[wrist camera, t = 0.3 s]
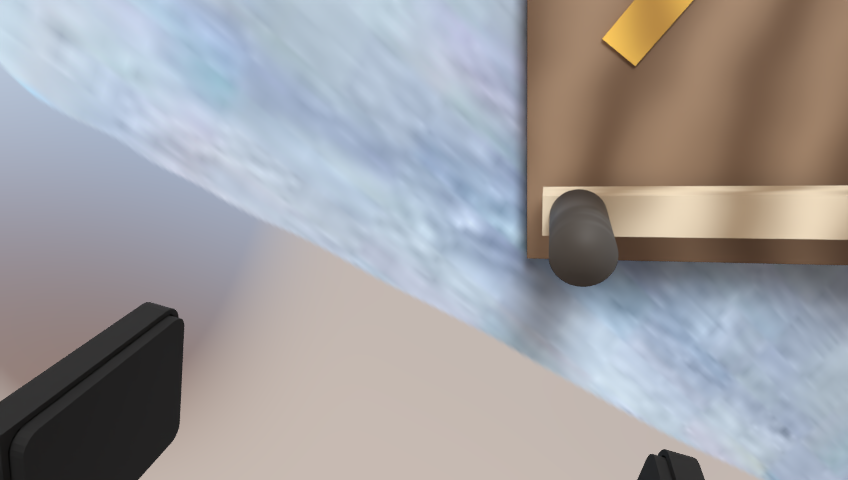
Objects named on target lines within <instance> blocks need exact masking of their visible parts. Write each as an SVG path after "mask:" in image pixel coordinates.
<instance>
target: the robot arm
mask: <svg viewBox="0 0 848 480" xmlns="http://www.w3.org/2000/svg"><path fill="white" fill-rule="evenodd" d="M183 339H184V322H183V320H182V319H180V318H178V313H177V311H176V310H175V309H172V308H168V307H165V306H161V305H158V304H154V303H151V302H146V303H144V304H142V305H141V306H139V307H138V308H136V309H135V310H133V311H132V312H130V313H129V314H127V315H126V316H125V317H123V318H122V319H120V320H119V321H117V322H116V323H114V324H113V325H111V326H110V327H108V328H107V329H106V330H104V331H103V332H101V333H100V334H98V335H97V336H95V337H94V338H92V339H91V340H89V341H88V342H87V343H85V344H84V345H82V346H81V347H79V348H78V349H76V350H75V351H73V352H72V353H71V354H69V355H68V356H66V357H65V358H63V359H62V360H60V361H59V362H57V363H56V364H54V365H53V366H52V367H50V368H49V369H47V370H46V371H44V372H43V373H41V374H40V375H38V376H37V377H35V378H34V379H33V380H31V381H30V382H28V383H27V384H25V385H24V386H22V387H21V388H19V389H18V390H16V391H15V392H14V393H12V394H11V395H9V396H8V397H6V398H5V399H3V400H2V401H1V402H0V480H138V479H139V478H140V477H141V476H142V475H143V474H144V473H145V471H146V470H147V469H148V468H149V467H150V466H151V465H152V464H153V462H154V461H155V460H156V459H157V458H158V457H159V456H160V455H161V454H162V453H163V451H164V450H165V449H166V448H167V447H168V446H169V445H170V444H171V442H172V441H173V440H174V438H175V436H176V434H177V432H178V429H179V424H180V404H181V383H182V382H181V381H182V362H183ZM638 480H705V479H704V476H703V473H702V471H701V468H700V465H699V463H698V461H697V459H695V458H693V457H690V456H686V455H683V454H679V453H676V452H672V451H669V450H665V449H664V450H661V451H660V452H659V454H658V456H657V455H654V454H650V455H649V456H648V457H647V459H646V461H645V464H644V466H643V468H642V470H641V473H640V475H639V477H638Z"/></svg>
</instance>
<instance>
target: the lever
mask: <svg viewBox="0 0 848 480" xmlns="http://www.w3.org/2000/svg"><path fill="white" fill-rule="evenodd" d="M542 236H549V262H550V266H551V268H552V270H553V271H554V273H555V274H556V275H557V276H558V277H559V278H560V279H561V280H563V281H564V282H566V283H568V284H571V285H574V286H581V287H586V286H592V285H596V284H598V283H600V282H602V281H604V280H605V279H607V278H608V277H609V276H610V275H611V274H612V273H613V271H614V270H615V268H616V265H617V262H618V248H617V244H616V240H615V237H677V238H752V239H827V240H848V185H839V186H609V187H543V208H542Z"/></svg>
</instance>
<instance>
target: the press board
mask: <svg viewBox="0 0 848 480" xmlns="http://www.w3.org/2000/svg"><path fill="white" fill-rule="evenodd" d="M839 185H848V0H527V258H539V259H549V236H542V208H543V187H609V186H839ZM615 240H616V244H617V248H618V260H631V261H677V262H723V263H769V264H815V265H848V240H827V239H752V238H677V237H615Z"/></svg>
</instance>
